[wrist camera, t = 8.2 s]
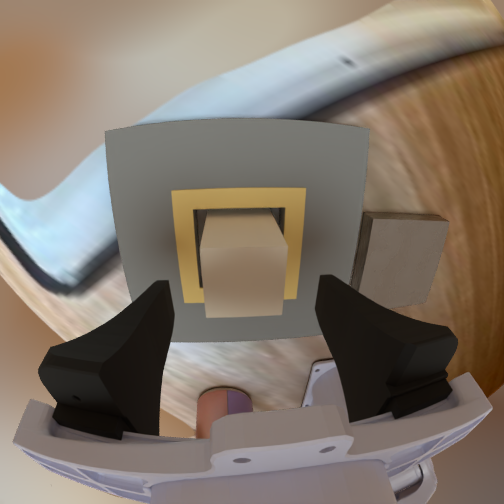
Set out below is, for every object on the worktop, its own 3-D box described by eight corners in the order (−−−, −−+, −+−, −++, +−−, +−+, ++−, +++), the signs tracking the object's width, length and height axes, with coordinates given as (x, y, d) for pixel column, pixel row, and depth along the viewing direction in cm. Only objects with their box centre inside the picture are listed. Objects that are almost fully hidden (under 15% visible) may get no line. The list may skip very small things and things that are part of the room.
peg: (267, 262, 20) (282, 314, 14) (211, 263, 19) (206, 317, 14) (269, 208, 18) (288, 246, 12) (208, 209, 17) (199, 248, 12)
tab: (417, 294, 22) (424, 302, 21) (346, 302, 22) (352, 313, 20) (438, 215, 19) (449, 221, 18) (363, 212, 18) (373, 218, 17)
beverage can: (255, 386, 26) (273, 520, 12) (246, 413, 28) (258, 525, 15) (198, 382, 25) (195, 521, 12) (197, 410, 27) (195, 525, 14)
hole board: (331, 321, 23) (337, 334, 21) (147, 329, 21) (143, 342, 20) (358, 127, 16) (370, 128, 14) (114, 130, 14) (103, 131, 13)
